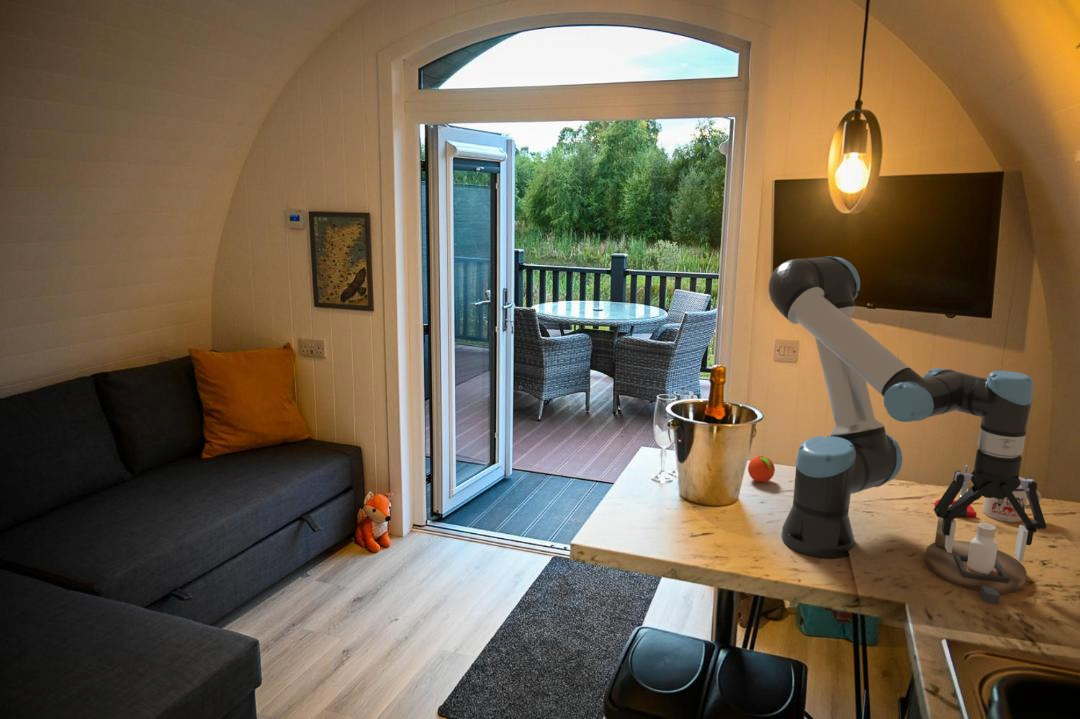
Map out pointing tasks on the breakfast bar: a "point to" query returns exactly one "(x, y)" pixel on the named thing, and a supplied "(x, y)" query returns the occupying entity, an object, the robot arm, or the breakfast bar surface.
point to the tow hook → (969, 510)
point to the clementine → (761, 469)
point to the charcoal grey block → (990, 595)
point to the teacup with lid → (1007, 506)
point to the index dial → (954, 570)
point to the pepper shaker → (983, 549)
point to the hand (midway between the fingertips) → (982, 554)
